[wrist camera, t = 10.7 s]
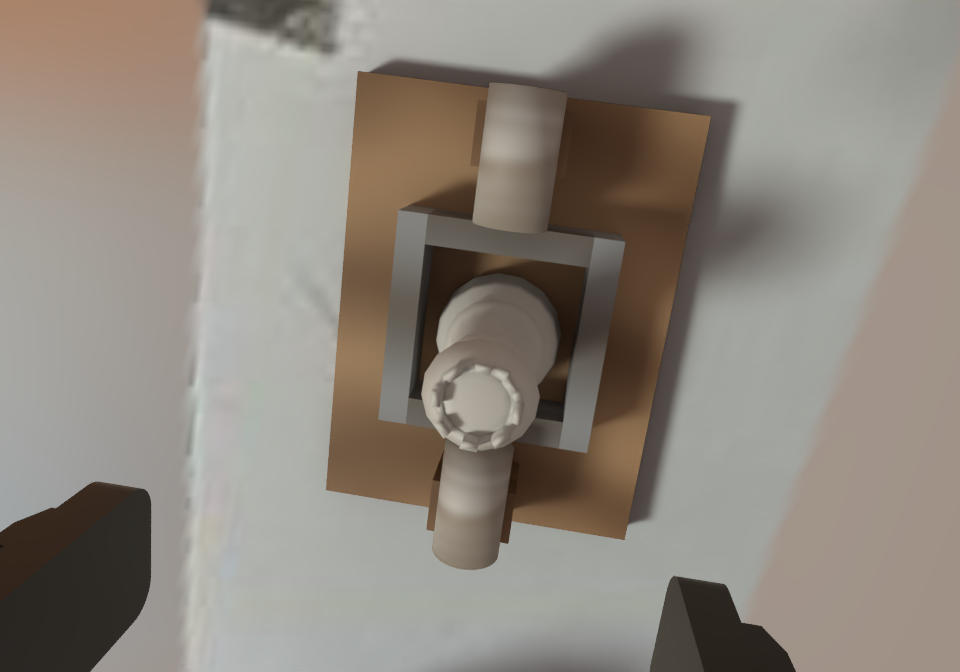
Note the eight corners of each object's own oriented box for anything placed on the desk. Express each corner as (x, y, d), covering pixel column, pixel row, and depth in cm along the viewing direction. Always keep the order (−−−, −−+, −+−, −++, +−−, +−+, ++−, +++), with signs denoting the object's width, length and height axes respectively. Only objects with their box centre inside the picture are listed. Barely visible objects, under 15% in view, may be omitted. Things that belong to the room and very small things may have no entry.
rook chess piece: (533, 251, 26) (521, 300, 18) (579, 363, 27) (587, 453, 19) (420, 298, 27) (364, 362, 19) (469, 404, 28) (434, 506, 20)
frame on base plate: (622, 526, 30) (634, 598, 25) (333, 478, 30) (293, 540, 26) (705, 117, 25) (738, 112, 21) (365, 73, 26) (323, 59, 21)
